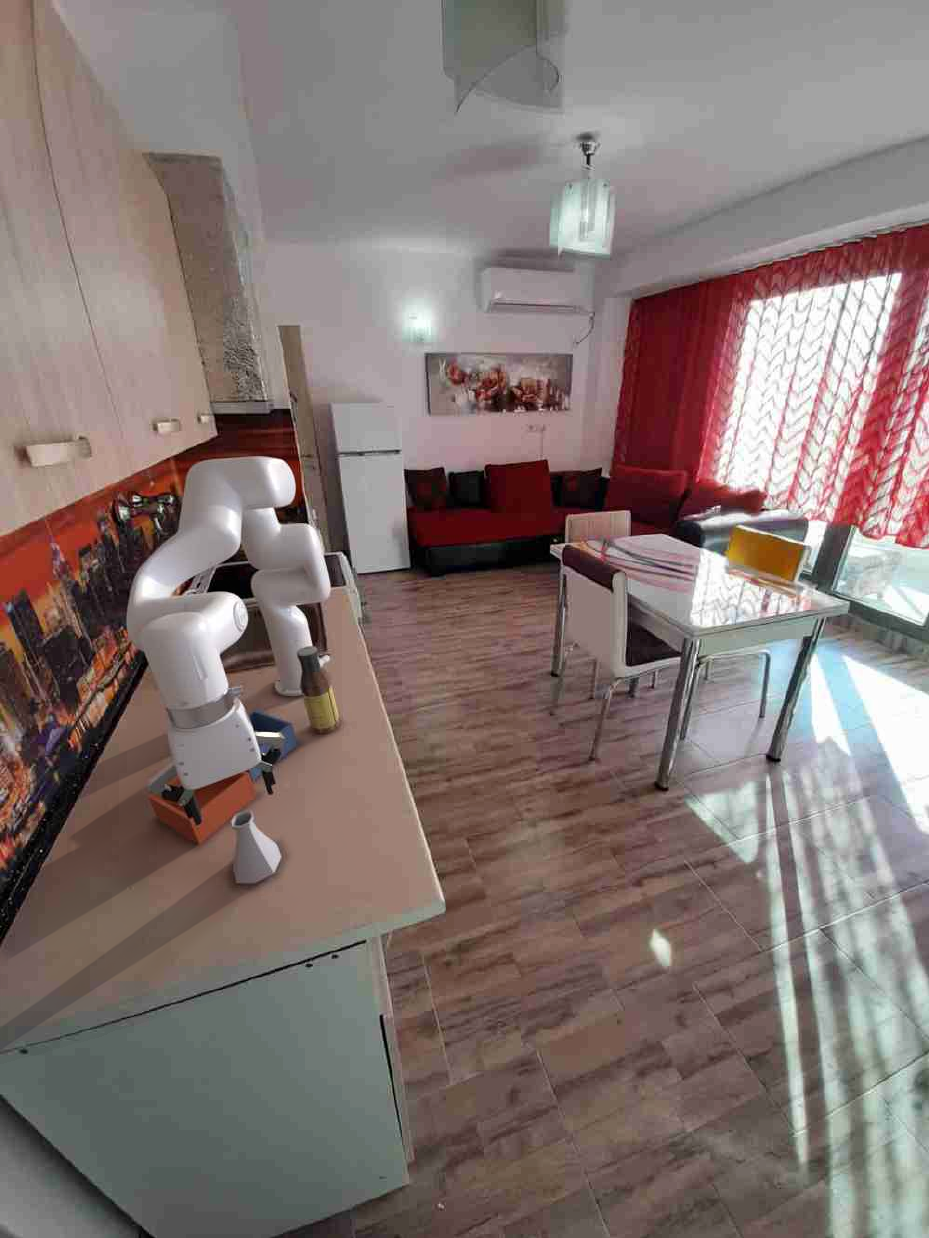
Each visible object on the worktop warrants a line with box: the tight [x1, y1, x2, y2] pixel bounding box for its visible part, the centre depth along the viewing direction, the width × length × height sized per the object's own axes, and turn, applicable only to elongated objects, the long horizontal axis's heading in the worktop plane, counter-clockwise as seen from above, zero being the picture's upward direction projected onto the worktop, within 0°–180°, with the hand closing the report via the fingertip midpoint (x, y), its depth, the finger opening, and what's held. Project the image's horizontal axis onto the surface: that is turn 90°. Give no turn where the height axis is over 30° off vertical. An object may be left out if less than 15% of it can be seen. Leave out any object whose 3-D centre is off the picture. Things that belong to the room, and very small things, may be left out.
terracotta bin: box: [147, 771, 257, 845], centre depth 85 cm, size 12×12×6 cm
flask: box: [230, 810, 282, 884], centre depth 73 cm, size 7×7×10 cm
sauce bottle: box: [297, 645, 340, 734], centre depth 102 cm, size 6×6×20 cm
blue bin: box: [245, 709, 299, 782], centre depth 98 cm, size 12×12×6 cm
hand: (235, 803), depth 69 cm, fingers open, 9 cm apart
